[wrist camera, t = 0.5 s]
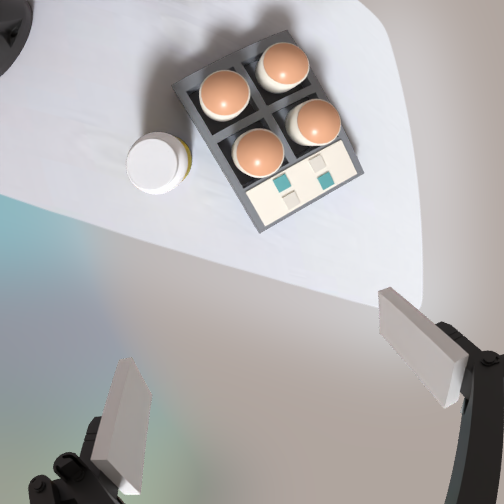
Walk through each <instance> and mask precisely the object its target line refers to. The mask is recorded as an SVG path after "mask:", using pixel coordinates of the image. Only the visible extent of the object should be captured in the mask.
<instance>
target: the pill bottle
mask: <svg viewBox="0 0 504 504" xmlns="http://www.w3.org/2000/svg"><path fill="white" fill-rule="evenodd" d="M191 165H192V155H191V152H190V149H189V147H188V146H187V144H186V143H185V142H184V141H183V140H181V139H180V138H178V137H176V136H173V135H171V134H168V133H165V132H152V133H148V134H146V135H144V136H142V137H141V138H139V139H138V140H137V141H136V142H135V143H134V144H133V145H132V147H131V148H130V150H129V153H128V156H127V160H126V170H127V174H128V176H129V178H130V180H131V181H132V183H133V184H134V185H135V186H136V187H137V188H138V189H140V190H141V191H143V192H146V193H149V194H163V193H166V192H169V191H171V190H173V189H174V188H176V187H177V186H178V185H179V184H180V183H181V182H182V181H183V180H184V179H185V178H186V176H187V175H188V173H189V171H190V169H191Z"/></svg>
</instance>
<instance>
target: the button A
mask: <svg viewBox="0 0 504 504" xmlns="http://www.w3.org/2000/svg"><path fill="white" fill-rule="evenodd" d="M199 98H200V105H201V108H202V110H203V112H204V113H205V115H206V116H208V117H209V118H210V119H212V120H215V121H219V122H225V121H229V120H232V119H234V118H236V117H237V116H238V115H239V114H240V113H241V112H242V111H243V110H244V109H245V107H246V106H247V104H248V102H249V99H250V88H249V85H248V83H247V81H246V80H245V78H244V77H243V76H241V75H240V74H238V73H236V72H234V71H230V70H219V71H216V72H213V73H212V74H210V75H209V76H207V77H206V78H205V79H204V81H203V82H202V84H201V86H200V90H199Z"/></svg>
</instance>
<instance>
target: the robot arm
mask: <svg viewBox="0 0 504 504" xmlns="http://www.w3.org/2000/svg"><path fill="white" fill-rule="evenodd" d="M31 23H32V11H31V7H30V5H29V3H28V2H27V1H26V0H0V76H1V75H2V74H4V73H5V72H6V71H7V70H8V68H9V67H10V66H11V65H12V64H13V62H14V61H15V60H16V58H17V57H18V55H19V54H20V52H21V50H22V48H23V47H24V44H25V42H26V40H27V38H28V35H29V32H30V28H31ZM378 297H379V327H380V334H381V335H382V336H383V338H384V339H385V340H386V341H387V342H388V343H389V344H390V346H391V347H392V348H393V349H394V350H395V351H396V352H397V354H398V355H399V356H400V357H401V358H402V359H403V361H404V362H405V363H406V364H407V365H408V366H409V368H410V369H411V370H412V371H413V372H414V373H415V375H416V376H417V377H418V378H419V379H420V381H421V382H422V383H423V384H424V385H425V386H426V388H427V389H428V390H429V391H430V392H431V394H432V395H433V396H434V397H435V398H436V400H437V401H438V402H439V403H440V404H441V406H442V407H443V408H444V409H445V408H447V407H448V406H450V405H452V404H453V403H455V402H457V401H458V398H459V394H460V392H461V393H462V394H463V396H464V397H465V398H464V402H463V405H462V408H461V411H460V413H462V418H461V426H460V433H459V439H458V446H457V451H456V457H455V461H454V466H453V471H452V475H451V480H450V484H449V489H448V492H447V496H446V500H445V504H496V499H497V492H498V486H499V479H500V471H501V460H502V448H503V432H504V354H503V355H499V354H497V353H495V352H493V351H481V350H480V349H479V348H478V347H476V346H475V345H474V344H473V343H472V342H470V341H469V340H468V339H467V338H466V337H465V336H463V335H462V334H461V333H460V332H458V331H457V330H456V329H455V328H454V327H452V325H450V324H447V323H444V322H440V323H437V324H434V323H433V322H432V321H430V320H429V319H428V318H427V317H426V316H424V315H423V314H422V313H421V312H420V311H419V310H418V309H416V308H415V307H414V306H413V305H412V304H410V303H409V302H408V301H407V300H406V299H404V298H403V297H402V296H401V295H400V294H398V293H397V292H396V291H395V290H394V289H392V288H391V287H389V288H386V289H383V290H380V291H378ZM151 399H152V394H151V392H150V391H149V389H148V387H147V385H146V383H145V381H144V379H143V378H142V376H141V374H140V372H139V370H138V368H137V366H136V364H135V362H134V360H133V358H126V359H122V360H119V362H118V365H117V368H116V371H115V374H114V378H113V381H112V384H111V387H110V391H109V394H108V397H107V400H106V404H105V407H104V411H103V414H102V416H100V417H94V419H93V420H92V421H91V423H90V424H89V426H88V429H87V433H86V434H87V435H86V436H85V439H84V441H85V442H84V443H83V446H82V450H81V453H80V457H78V456H77V455H76V454H75V453H72V452H67V453H64V454H62V455H60V456H59V457H58V458H57V459H56V460H55V462H54V466H53V469H54V472H55V473H56V474H57V475H58V476H59V477H60V479H57V480H53V481H51V480H50V479H49V478H48V477H47V476H45V475H38V476H36V477H34V478H33V479H32V480H31V481H30V484H29V487H28V491H29V499H30V504H125V503H124V502H123V501H122V500H121V499H120V498H119V497H118V496H117V494H118V489H119V490H120V491H122V493H124V494H125V495H136V494H141V484H142V474H143V464H144V454H145V445H146V437H147V429H148V421H149V414H150V406H151Z"/></svg>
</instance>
